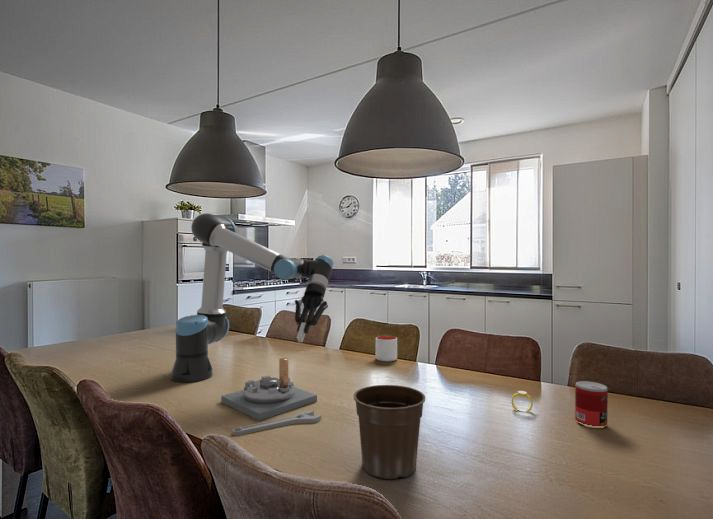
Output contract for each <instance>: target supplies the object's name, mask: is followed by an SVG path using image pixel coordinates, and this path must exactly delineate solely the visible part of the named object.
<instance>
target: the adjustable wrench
mask: <svg viewBox="0 0 713 519" xmlns="http://www.w3.org/2000/svg"><path fill="white" fill-rule="evenodd" d="M314 414H315V411H314V410H305V411H298V412H297V414H295V415H292V416H290V417H284V418H278V419H274V420H269V421H264V422H259V423H254V424H249V425H245V426H239V427H234V428H233V429H232V434H231V435H233V436H241V435H247V434H250V433H255V432H260V431H264V430H269V429H275V428H278V427H279V428H280V427H283V426H288V425H289V426H290V425H294V423H295V424H314V423H319V422H320V421H322V414H321V413H318V414H316V415H314Z"/></svg>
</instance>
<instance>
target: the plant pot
mask: <svg viewBox="0 0 713 519" xmlns="http://www.w3.org/2000/svg"><path fill="white" fill-rule="evenodd" d="M353 399H354V401H355V407H356V408H355V409H356V414H357V417H358V423H359V437H360V448H361V449H360V450H361V466H362V468H364V470H365V472H366V473H367V474H369V475H371V476H373V477H375V478H378V477H379V479H383V478H384V480H396V479H397V478H399V477H401V478H404V477H405V478H407V477H409V476H411V475H412V474H413V473H414V472H416V470H417V469H416V468H417V459H418V457H417V456H418V448H419V438H420V437H419V436H420V427H421V419H422V417H423V409H424V403H425V402H426V395H425V394H424V393H423V392H422V391H420V390H419V389H416V388H412V387H408V386H404V385H396V384H395V385H393V384H377V385H370V386H369V385H368V386H366V387H362V388H359V389H358V390H356V391H354V393H353Z"/></svg>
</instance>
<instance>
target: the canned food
mask: <svg viewBox="0 0 713 519" xmlns="http://www.w3.org/2000/svg"><path fill="white" fill-rule="evenodd" d="M574 387H575V390H574V392H575V394H574V396H575V398H574V400H575V403H574V404H575V406H574V407H575V410H574V411H575V412H574V414H575V416H574V418H575V421H576V420H577V421H578V422H581V423H583V424H587V425H592V426H605V425H607V426H608V405H609V404H608V400H609V398H608V395H609V394H608V391H609V390H608V389H609V388H608V387H607V386H606V384H603V383H599V382H595V381H588V380H580V381H577V382H575V385H574Z"/></svg>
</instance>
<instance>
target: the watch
mask: <svg viewBox="0 0 713 519" xmlns="http://www.w3.org/2000/svg"><path fill="white" fill-rule="evenodd" d="M517 396H521V397H527V398H528V399H529V400H530V403H531V404H530V406H529V408H527V409H526V410H527V411H529V412H531V410H532V409H533V404H534V403H533V399H532V397H531V395H529V394H528V392H527V391H524V390H517V391H516V392H515V393H514V394H513V395H512V396H511V397H512V398H511V406H512V408H513V409H514V410H515V411H516V410H517V409H518V407H517V406H516V405H515V403H514V399H515V397H517Z"/></svg>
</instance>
